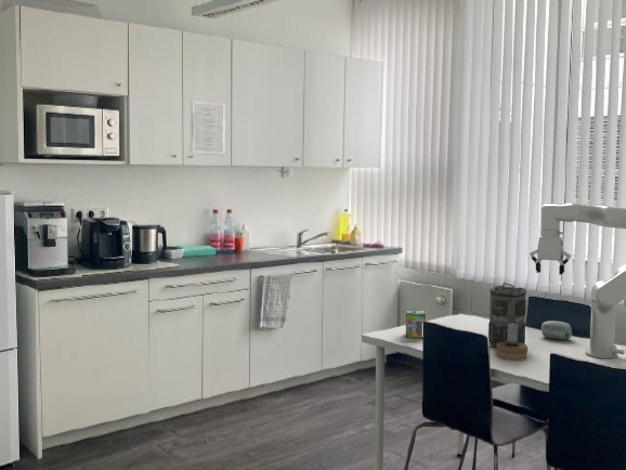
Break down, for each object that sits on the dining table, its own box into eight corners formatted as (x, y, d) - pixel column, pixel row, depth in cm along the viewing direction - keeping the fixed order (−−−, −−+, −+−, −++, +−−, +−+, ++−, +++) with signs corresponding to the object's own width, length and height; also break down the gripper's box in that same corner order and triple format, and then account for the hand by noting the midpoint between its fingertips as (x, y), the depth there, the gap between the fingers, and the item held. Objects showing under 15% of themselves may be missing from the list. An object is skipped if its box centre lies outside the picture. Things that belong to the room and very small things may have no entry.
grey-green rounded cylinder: (577, 331, 327) (569, 314, 324) (572, 344, 321) (564, 326, 318) (548, 334, 336) (541, 317, 333) (543, 346, 329) (536, 329, 326)
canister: (481, 343, 318) (482, 281, 316) (510, 340, 324) (512, 279, 321) (502, 351, 304) (503, 287, 301) (532, 348, 309) (534, 285, 307)
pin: (518, 356, 296) (519, 323, 295) (514, 358, 293) (515, 325, 292) (509, 354, 298) (510, 322, 297) (505, 356, 295) (506, 323, 294)
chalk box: (425, 338, 327) (425, 307, 325) (405, 337, 328) (405, 306, 327) (425, 334, 336) (425, 303, 334) (405, 333, 337) (406, 302, 336)
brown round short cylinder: (530, 355, 297) (531, 344, 296) (520, 361, 287) (520, 349, 287) (503, 351, 304) (504, 339, 304) (492, 357, 295) (492, 345, 294)
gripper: (573, 233, 297) (573, 273, 299) (533, 232, 307) (532, 270, 309) (568, 235, 291) (567, 276, 293) (527, 233, 301) (526, 273, 303)
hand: (549, 273), depth 301 cm, fingers open, 9 cm apart
